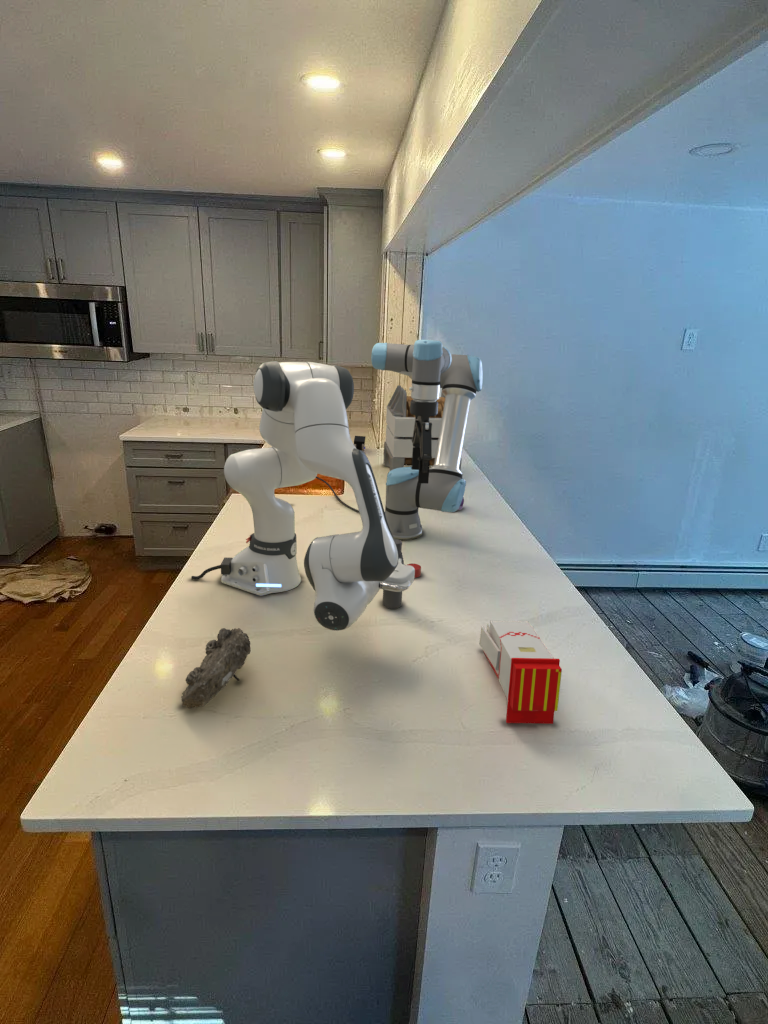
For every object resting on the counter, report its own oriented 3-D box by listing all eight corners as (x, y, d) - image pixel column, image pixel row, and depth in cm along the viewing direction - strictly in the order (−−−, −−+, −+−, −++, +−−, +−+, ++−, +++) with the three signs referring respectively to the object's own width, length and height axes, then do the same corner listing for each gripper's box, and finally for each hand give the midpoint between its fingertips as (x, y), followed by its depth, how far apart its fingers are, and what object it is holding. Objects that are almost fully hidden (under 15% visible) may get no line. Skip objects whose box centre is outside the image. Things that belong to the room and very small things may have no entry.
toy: (526, 605, 135) (570, 665, 105) (521, 658, 137) (563, 730, 108) (475, 604, 134) (506, 664, 105) (472, 657, 137) (500, 729, 108)
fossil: (203, 630, 128) (250, 600, 123) (232, 659, 131) (279, 630, 126) (159, 702, 109) (213, 669, 104) (194, 733, 111) (249, 703, 106)
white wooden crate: (382, 463, 289) (386, 382, 275) (445, 464, 293) (451, 384, 279) (390, 482, 257) (394, 392, 243) (460, 483, 261) (468, 394, 247)
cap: (408, 569, 173) (408, 562, 172) (422, 572, 171) (423, 565, 170) (402, 575, 169) (403, 568, 168) (417, 579, 167) (418, 571, 166)
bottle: (405, 605, 152) (409, 542, 146) (391, 610, 149) (394, 547, 143) (392, 597, 156) (395, 536, 150) (378, 603, 152) (381, 540, 146)
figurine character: (365, 457, 304) (365, 447, 318) (365, 443, 301) (365, 434, 315) (352, 456, 304) (353, 447, 318) (352, 443, 301) (353, 434, 314)
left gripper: (407, 577, 118) (423, 552, 130) (316, 561, 123) (340, 538, 136) (405, 604, 120) (421, 577, 132) (316, 587, 125) (339, 562, 138)
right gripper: (405, 392, 164) (401, 464, 171) (417, 407, 140) (412, 489, 147) (430, 393, 164) (425, 464, 171) (447, 408, 141) (440, 489, 148)
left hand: (379, 557), depth 134 cm, fingers open, 8 cm apart
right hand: (419, 476), depth 159 cm, fingers open, 13 cm apart
